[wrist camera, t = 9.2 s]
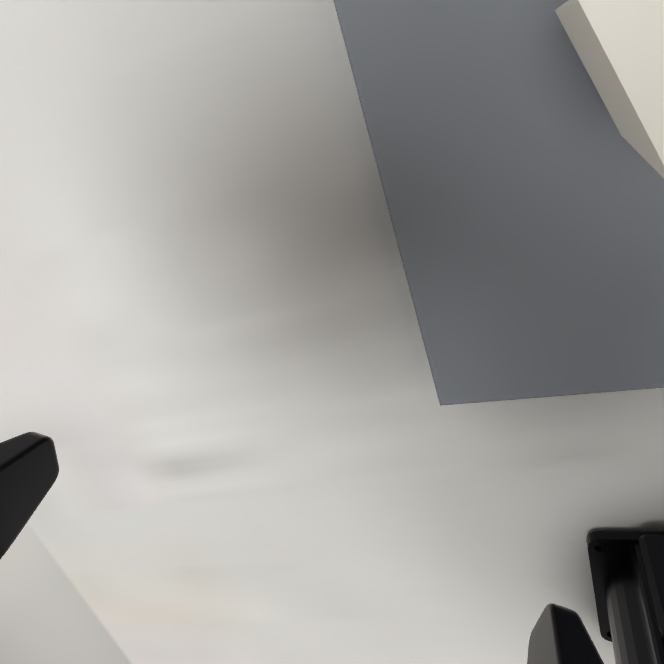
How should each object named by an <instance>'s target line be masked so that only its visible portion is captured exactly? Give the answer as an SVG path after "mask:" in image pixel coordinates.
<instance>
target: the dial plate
mask: <svg viewBox="0 0 664 664" xmlns="http://www.w3.org/2000/svg"><path fill="white" fill-rule="evenodd" d="M567 1H568V0H334V3H335V7H336V11H337V15H338V19H339V22H340V26H341V30H342V34H343V38H344V41H345V45H346V49H347V53H348V57H349V60H350V64H351V68H352V72H353V76H354V79H355V83H356V87H357V91H358V95H359V98H360V102H361V106H362V110H363V114H364V117H365V121H366V125H367V129H368V133H369V136H370V140H371V144H372V148H373V152H374V155H375V159H376V163H377V167H378V171H379V174H380V178H381V182H382V186H383V190H384V193H385V197H386V201H387V205H388V209H389V212H390V216H391V220H392V224H393V228H394V231H395V235H396V239H397V243H398V247H399V250H400V254H401V258H402V262H403V266H404V269H405V273H406V277H407V281H408V285H409V288H410V292H411V296H412V300H413V304H414V307H415V311H416V315H417V319H418V323H419V326H420V330H421V334H422V338H423V342H424V345H425V349H426V353H427V357H428V361H429V364H430V368H431V372H432V376H433V380H434V383H435V387H436V391H437V395H438V399H439V402H440V405H451V404H464V403H476V402H489V401H501V400H513V399H526V398H538V397H551V396H563V395H575V394H588V393H600V392H613V391H625V390H637V389H650V388H662V387H664V178H663V177H662V176H661V175H660V174H659V173H658V172H657V171H656V170H655V169H654V168H653V167H652V166H651V165H650V164H649V163H648V162H647V161H646V160H645V159H644V158H643V157H642V156H641V155H640V154H639V153H638V152H637V151H636V150H635V149H634V148H633V147H632V146H631V145H630V144H629V143H628V142H627V141H626V140H625V139H624V138H623V137H622V136H621V134H620V132H619V130H618V128H617V127H616V125H615V123H614V121H613V119H612V117H611V115H610V113H609V112H608V110H607V108H606V106H605V104H604V102H603V100H602V98H601V96H600V95H599V93H598V91H597V89H596V87H595V85H594V83H593V81H592V80H591V78H590V76H589V74H588V72H587V70H586V68H585V66H584V65H583V63H582V61H581V59H580V57H579V55H578V53H577V51H576V50H575V48H574V46H573V44H572V42H571V40H570V38H569V36H568V35H567V33H566V31H565V29H564V27H563V25H562V23H561V21H560V20H559V18H558V16H557V14H556V12H555V10H556V9H557V8H559V7H560V6H561V5H563V4H564V3H565V2H567Z"/></svg>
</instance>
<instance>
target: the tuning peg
mask: <svg viewBox="0 0 664 664" xmlns="http://www.w3.org/2000/svg"><path fill="white" fill-rule="evenodd" d="M555 12H556V14H557V16H558V18H559V20H560V21H561V23H562V25H563V27H564V29H565V31H566V33H567V35H568V36H569V38H570V40H571V42H572V44H573V46H574V48H575V50H576V51H577V53H578V55H579V57H580V59H581V61H582V63H583V65H584V66H585V68H586V70H587V72H588V74H589V76H590V78H591V80H592V81H593V83H594V85H595V87H596V89H597V91H598V93H599V95H600V96H601V98H602V100H603V102H604V104H605V106H606V108H607V110H608V112H609V113H610V115H611V117H612V119H613V121H614V123H615V125H616V127H617V128H618V130H619V132H620V134H621V136H622V137H623V138H624V139H625V140H626V141H627V142H628V143H629V144H630V145H631V146H632V147H633V148H634V149H635V150H636V151H637V152H638V153H639V154H640V155H641V156H642V157H643V158H644V159H645V160H646V161H647V162H648V163H649V164H650V165H651V166H652V167H653V168H654V169H655V170H656V171H657V172H658V173H659V174H660V175H661V176H662V177H663V178H664V0H568V1H567V2H565V3H564V4H563V5H561V6H560V7H559V8H557V9H556V10H555Z"/></svg>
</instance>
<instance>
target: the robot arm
mask: <svg viewBox="0 0 664 664" xmlns="http://www.w3.org/2000/svg"><path fill="white" fill-rule="evenodd" d="M58 473H59V465H58V460H57V455H56V451H55V446H54V442H53V440H52V439H51V438H50V437H48V436H45V435H42V434H39V433H36V432H28V433H25V434H22V435H19V436H17V437H14V438H12V439H9V440H7V441H4V442H2V443H0V559H1V558H2V556H3V555H4V554H5V552H6V551H7V550H8V549H9V547H10V546H11V544H12V543H13V542H14V540H15V539H16V537H17V536H18V534H19V533H20V532H21V530H22V529H23V527H24V526H25V524H26V523H27V521H28V520H29V519H30V517H31V516H32V514H33V513H34V511H35V510H36V508H37V507H38V505H39V504H40V503H41V501H42V500H43V498H44V497H45V495H46V494H47V492H48V491H49V489H50V488H51V487H52V485H53V484H54V482H55V480H56V478H57V476H58ZM599 543H602V544H599ZM587 546H588V552H589V559H590V566H591V573H592V579H593V586H594V593H595V599H596V606H597V613H598V619H599V626H600V633H601V636H602V637H603V638H604V639H606V640H608V641H612V642H613V649H614V655H615V661H616V664H664V532H620V531H597V532H592V533H590V534H589V535H588V536H587ZM527 664H604V663H603V661H602V659H601V657H600V655H599V653H598V651H597V649H596V647H595V645H594V643H593V641H592V640H591V638H590V636H589V634H588V632H587V630H586V628H585V626H584V624H583V622H582V620H581V618H580V617H579V615H578V614H577V613H576V612H575V611H573V610H571V609H568V608H565V607H562V606H559V605H556V604H552V603H551V604H548V605H547V606H546V607H545V609H544V611H543V613H542V614H541V616H540V618H539V620H538V621H537V623H536V625H535V627H534V628H533V630H532V633H531V636H530V640H529V648H528V661H527Z"/></svg>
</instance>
